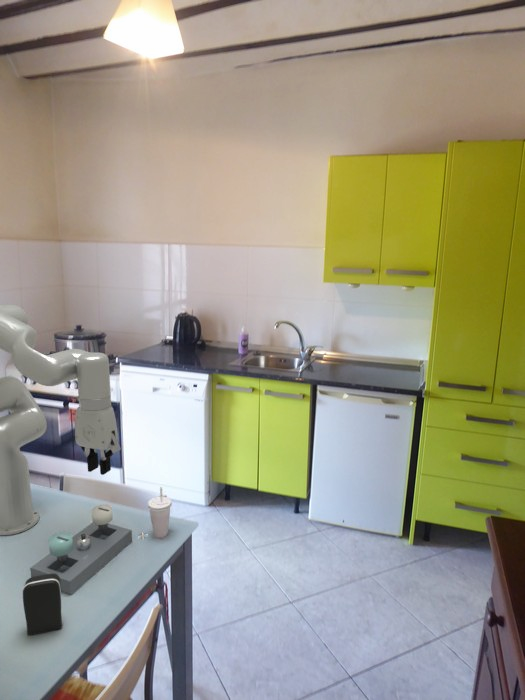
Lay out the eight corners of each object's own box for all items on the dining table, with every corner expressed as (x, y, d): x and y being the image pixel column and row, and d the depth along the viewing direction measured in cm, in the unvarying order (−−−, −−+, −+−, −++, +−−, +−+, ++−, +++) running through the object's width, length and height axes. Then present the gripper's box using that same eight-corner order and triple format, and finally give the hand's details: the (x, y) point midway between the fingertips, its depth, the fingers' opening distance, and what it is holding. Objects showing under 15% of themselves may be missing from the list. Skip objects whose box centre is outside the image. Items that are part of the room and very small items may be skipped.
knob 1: (46, 562, 111) (44, 541, 110) (62, 550, 115) (60, 529, 114) (62, 567, 109) (60, 546, 108) (78, 555, 114) (76, 534, 112)
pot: (75, 549, 118) (74, 536, 117) (83, 542, 121) (82, 530, 120) (84, 552, 117) (83, 539, 116) (93, 545, 120) (92, 533, 119)
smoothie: (167, 542, 127) (165, 494, 124) (144, 539, 128) (142, 491, 126) (176, 529, 133) (174, 483, 130) (154, 526, 135) (153, 480, 132)
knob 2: (88, 530, 124) (87, 511, 122) (101, 520, 128) (100, 502, 127) (104, 535, 122) (102, 515, 121) (116, 525, 126) (115, 506, 125)
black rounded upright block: (64, 615, 101) (60, 568, 99) (63, 629, 98) (59, 580, 95) (28, 623, 99) (23, 574, 97) (25, 637, 96) (20, 587, 93)
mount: (31, 580, 112) (30, 567, 111) (96, 531, 132) (95, 519, 131) (70, 595, 107) (69, 581, 107) (132, 541, 127) (131, 529, 127)
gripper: (58, 402, 117) (63, 471, 121) (111, 411, 111) (115, 483, 115) (80, 394, 124) (84, 459, 128) (132, 402, 118) (135, 470, 122)
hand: (99, 470), depth 122 cm, fingers open, 3 cm apart
